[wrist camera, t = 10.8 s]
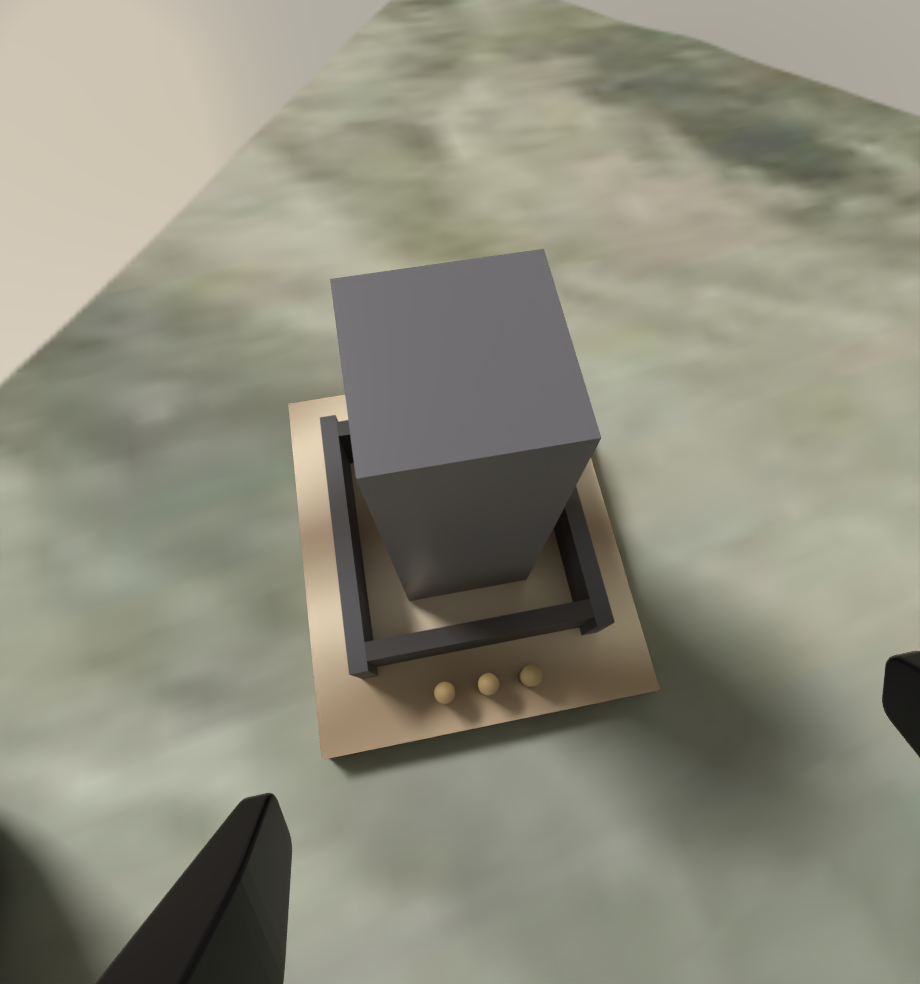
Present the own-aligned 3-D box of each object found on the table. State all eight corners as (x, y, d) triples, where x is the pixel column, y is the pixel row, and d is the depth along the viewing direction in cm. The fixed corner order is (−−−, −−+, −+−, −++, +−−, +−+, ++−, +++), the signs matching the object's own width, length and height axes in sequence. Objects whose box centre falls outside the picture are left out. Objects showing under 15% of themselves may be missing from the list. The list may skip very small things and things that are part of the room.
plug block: (526, 579, 22) (601, 438, 10) (408, 601, 21) (355, 479, 10) (501, 472, 23) (543, 249, 12) (391, 490, 23) (329, 278, 12)
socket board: (651, 691, 21) (686, 687, 18) (328, 757, 20) (303, 766, 17) (557, 372, 26) (572, 324, 23) (294, 415, 25) (270, 371, 22)
